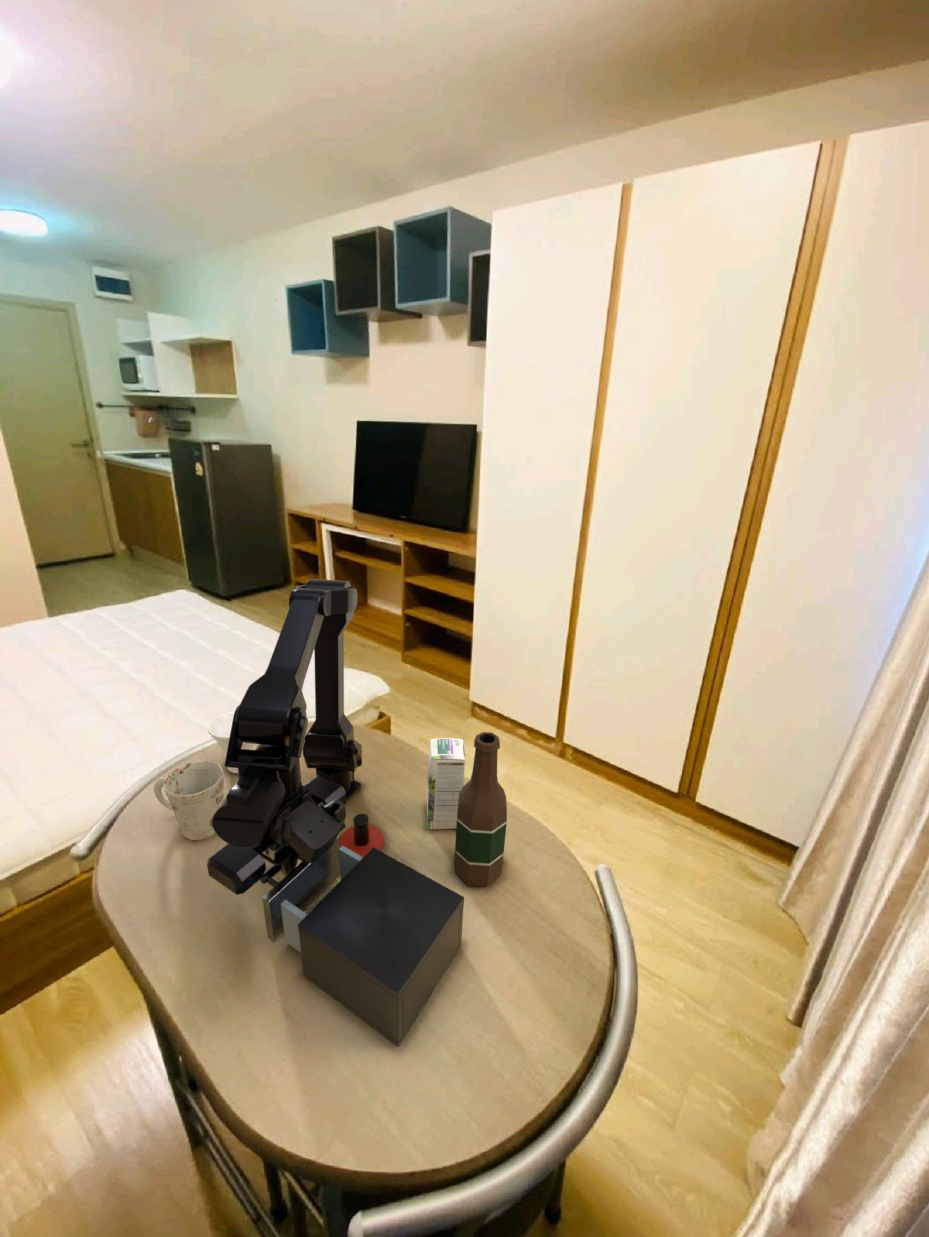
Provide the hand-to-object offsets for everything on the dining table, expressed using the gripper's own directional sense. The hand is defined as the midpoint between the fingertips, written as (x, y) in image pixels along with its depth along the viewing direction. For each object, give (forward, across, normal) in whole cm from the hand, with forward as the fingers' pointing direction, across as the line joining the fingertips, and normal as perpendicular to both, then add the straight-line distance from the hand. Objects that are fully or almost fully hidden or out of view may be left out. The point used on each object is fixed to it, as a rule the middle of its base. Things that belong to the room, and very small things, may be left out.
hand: (288, 874), depth 72 cm
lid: (+4, +13, -2) cm, 14 cm away
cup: (+5, +15, +30) cm, 34 cm away
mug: (+5, +1, +24) cm, 25 cm away
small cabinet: (+4, 0, -17) cm, 17 cm away
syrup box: (+5, +25, -10) cm, 27 cm away
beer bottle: (+5, +19, -20) cm, 28 cm away
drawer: (+4, 0, -7) cm, 8 cm away
